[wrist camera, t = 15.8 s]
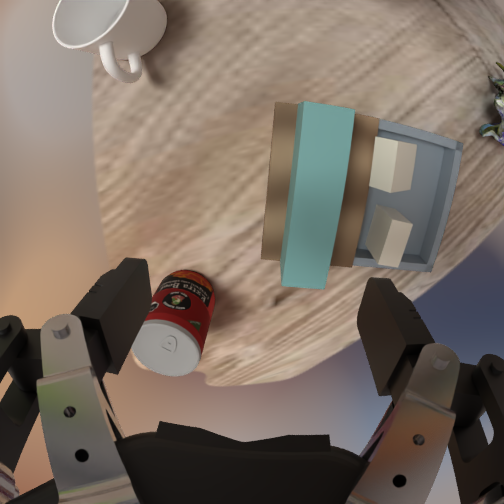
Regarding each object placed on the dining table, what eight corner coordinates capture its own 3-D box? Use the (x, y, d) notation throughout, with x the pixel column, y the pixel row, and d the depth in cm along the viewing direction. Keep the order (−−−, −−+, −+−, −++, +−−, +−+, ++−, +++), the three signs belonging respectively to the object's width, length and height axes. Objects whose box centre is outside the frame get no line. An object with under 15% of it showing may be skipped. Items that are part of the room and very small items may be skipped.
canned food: (221, 276, 37) (205, 335, 27) (210, 323, 40) (195, 384, 31) (162, 261, 37) (129, 313, 27) (158, 309, 40) (130, 365, 30)
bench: (275, 103, 28) (275, 102, 25) (368, 118, 28) (379, 118, 24) (261, 245, 35) (260, 259, 32) (345, 253, 35) (351, 267, 32)
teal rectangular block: (298, 103, 25) (304, 101, 20) (340, 110, 25) (355, 109, 20) (280, 260, 32) (281, 285, 27) (317, 263, 32) (324, 289, 27)
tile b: (392, 219, 27) (413, 224, 27) (376, 204, 31) (395, 208, 31) (377, 264, 29) (397, 267, 29) (364, 244, 33) (383, 247, 33)
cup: (161, -12, 22) (124, -47, 13) (184, 72, 27) (148, 57, 18) (99, 18, 23) (48, -1, 14) (118, 100, 28) (65, 100, 19)
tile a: (375, 136, 25) (398, 141, 23) (397, 139, 28) (417, 144, 26) (369, 186, 27) (390, 193, 26) (391, 183, 30) (410, 189, 28)
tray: (368, 118, 28) (377, 118, 25) (449, 140, 27) (463, 143, 25) (345, 253, 35) (350, 265, 32) (421, 261, 34) (430, 272, 32)
